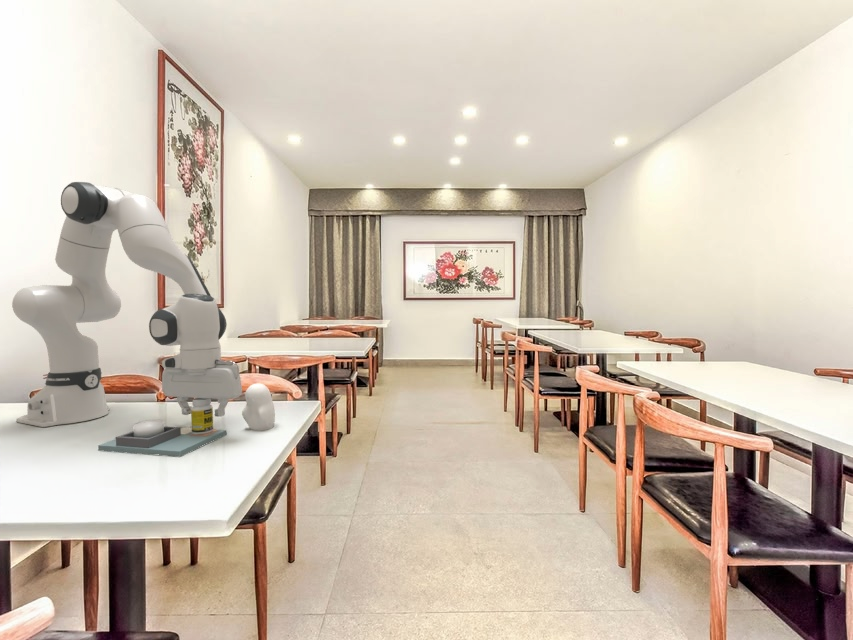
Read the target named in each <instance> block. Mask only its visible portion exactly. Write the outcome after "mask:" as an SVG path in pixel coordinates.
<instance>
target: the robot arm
mask: <svg viewBox="0 0 853 640" xmlns="http://www.w3.org/2000/svg"><path fill="white" fill-rule="evenodd" d="M60 206H61V209H62V211H63V213H64V215H66V216H65V218H64V221H63V224H62V226H61V227H62V228H61V229H60V230H61V231H60V234H59V239H58V245H57V248H56V253H55V259H54V260H55V264H56V266H57V267H58V268H59V269H60V270H61V271H62V272H64V273H66V274H68V275H70V276H71V280H72V281H71V284H70V285H57V284H56V285H47V284H46V285H45V284H42V285H35V286H34V285H33V286H29V287H23V288H21V289H19V290H18V291H17V292H16V293H15V295H14V297H13V298H12V302H11V305H12V310H13V312H14V314H15V316H16V317H17V318H18V319H19V320H20V321H22V322H23V323H25V324H27V325H29V326H31V328H33V329H34V330H36V332H37V333H39V335H40V336H41V338H42V340H43V341H44V343H45V346H46V350H47V355H48V363H49V372H48V373H46V374H43V375H42V376H43V378H42V379H43V380H45V383H44V384H45V386H44V387H43V388H41V389H40V390H39V391H37V392H36V393H35V394H34V395H33V396H32V397H30V398H29V399H28V401H27V412H26V413H27V414H25V415H22V416H19V417H17V418H16V419H15V420H16V423H20V424H26V425H31V426H36V427H41V428H47V427H53V426H56V425H57V426H58V425H67V424H75V423H80V422H85V421H90V420H94V419H98V418H101V417H103V416H104V417H105V416H106V415H108V414H109V411H110V406H109V405H108V403H107V398H106V393H105V389H104V388H105V387H104V385H103V383H101V380H102V374H103V373H102V368H101V367H100V365H99V364H100V363H99V345H98V344H97V342H96V341H95V340H94V339H93V338H91V337H89V336H86V335H84V334H82V333H81V332H80V331H79V329H78V327H77V323H79V324H81V323H82V324H83V323H97V322H102V321H107V320H110V319H113V318H115V317H117V316H118V314H119V313H120V311H121V307H122V302H121V298H120V296H119V295H118V293H117V292H116V291H115V290H113V289H112V288H111V286H110V284H109V283H108V280H107V276H106V267H107V261H108V256H109V251H110V248H111V242H112V236H113V234H114V232H115V231H116V230H117V232H118V237H119V239H120V242H121V245H122V248H123V250H124V252H125V254H126V256H127V257H128V259H129V260H130V261H131V262H132V263H133V264H135V265H137V266H139V267H140V268H142V269H144V270H148V271H151V272H154V273H158V274H160V275H162V276H165V277H167V278H168V279H171V280H172V281H174V282H175V283H176V284H178V286H180V289H181V290H182V292H183V294H182V295H181V296H179V298H178V300H177V301H176V302H175V303H173V304H171V305H169V306H166V307H164V308H159V309H158V310H156V311H155V312H154V313H153V314H152V315H151V318H150V320H149V323H148V331H149V334H150V336H151V338H152V339H153V341H155V342H156V343H157V344H158V345H161V346H166V347H167V346H168V347H171V346H179V347H180V348H179V353H178V354H175V355H173V356H170V357H166V358H164V359H163V360H161V366H162V368H164V370H162V373H161V387H162V393H163V394H164V396H165V397H170V398H171V397H172V398H176V402H177V404H178V405H179V408H181V415H182V416H183V415H186V416H188V415H191V408H192V407H193V405H192V406H190V405H189V403H188V400H189V398H192V399H195V398H211V400H212V399H213V400H214V399H217V403H218V404H219V405H218V407H217V408H215V409H214V417H220V418H221V417H224V416H225V413H226V408H227V405H228V403H229V401H230V400H234V399H236V398H239V397H240V396H241V395H242V393H243V386H242V380H241V375H240V366H239V365H238V364H237V363H236V362H235V361H234V360H232V359H231V360H223V359H222V355H221V354H222V350H221V343H220V339H222V337H223V335H224V334H225V332H226V330H227V325H228V324H227V319H226V317H225V315H224V313H223V312H222V310H221V308H219V306H218V303H217V301H216V299H215V298H214V297H213V296H211V294H210V293H211V292H210V291H209V289H208V288H207V286H206V284H205V282H204V279H203V278H202V276H201V274H200V272H199V271H198V269H197V267H196V265H195V263H194V262H193V260H192V259H191V258H190V257H189V256H188V255H187V254H186V253H184V251H182V250H181V249H180V247H179V246H178V245H177V244H176V242H175V241H174V239H173V238H172V235H171V233H170V230H169V228H168V225H167V223H166V220H165V218H164V216H163V214H162V212H161V211H160V208H159V207H158V206H157V203H155V201H154V200H153V199H152V198H149V196H146V195H144V194H139V193H134V192H131V191H128V190H125V189H122V188H117V187H110V186H104V185H99V184H92V183H91V182H85V181H72V182H70V183H68V184H67V185H66V186H65V187H64V188H63V190H62V192H61V195H60Z"/></svg>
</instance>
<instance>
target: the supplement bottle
mask: <svg viewBox="0 0 853 640" xmlns="http://www.w3.org/2000/svg"><path fill="white" fill-rule="evenodd" d="M211 403H212V399H211V398H192V408H191V414H190V416H191V417H190V419H191V420H190V421H191V422H190V423H191V428H192V434H195V435H199V434H207V433H210V432H212V431H213V429H214V414H213V413H214V410H213V405H212V404H211Z"/></svg>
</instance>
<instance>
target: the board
mask: <svg viewBox="0 0 853 640" xmlns="http://www.w3.org/2000/svg"><path fill="white" fill-rule="evenodd" d="M227 432H228V431H227V429H217V428H216V429H215V428H213V431H212V432H210V433H207V434H199V435H195V434H192V427H185V426H184V427H183V426H182V427H180V426H168V425H164V432H163V433H161V434H158V435H156V436H153V437H150V438H139V437H134V430H132V431H130V432H127V433H123V434H121V435H118V436H115V439H113V440H109V441H105V442H104V443H101V444H99V445H97V451H99V450H104V451H103V452H111V451H114V453H124V452H127V453H126V454H137V453H142V454H141V455H150V454H159V455H158V456H162V455H170V456H169V457H175V456H181V457H183V456H184V454H185V455H187V454H189V453H191V452H193V451H195V450H197V449H196V448H198V447H200V446H202V445H204V444H206V443H208V444H210V443H212V442H214V441H216V440H219V439H221V438H222V437H225V436H227V434H228V433H227ZM218 438H219V439H218ZM213 440H214V441H213ZM211 441H212V442H211ZM209 442H210V443H209ZM206 445H207V444H206ZM204 446H205V445H204ZM202 447H203V446H202ZM200 448H201V447H200ZM194 449H195V450H194ZM198 449H199V448H198ZM192 450H193V451H192ZM190 451H191V452H190ZM188 452H189V453H188ZM186 453H187V454H186ZM182 455H183V456H182Z"/></svg>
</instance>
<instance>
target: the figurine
mask: <svg viewBox="0 0 853 640" xmlns="http://www.w3.org/2000/svg"><path fill="white" fill-rule="evenodd" d="M244 397H245V399H244V400H245V403H246V405H245V406H244V407H243V409H242V411H241V415H242V418H243V420H244V422H245V423H246V424H247V425H248V428H249V429H250V430H251V431H263V430H264V431H265V430H269V429H271V428H273V427H274V426H275V421H276V416H275V415H276V413H275V410H276V409H275V404H274V401H273V398H272V393H271V392H270V390H269V387H268V386H267V385H265V384H263V383H253V384H251V385H250V386H248V387H247V389H246V390H245V393H244Z"/></svg>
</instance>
